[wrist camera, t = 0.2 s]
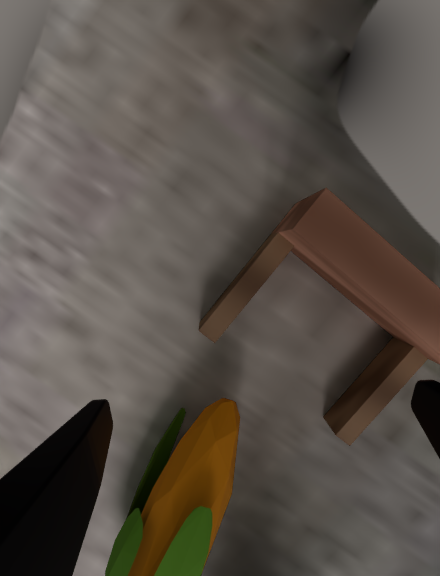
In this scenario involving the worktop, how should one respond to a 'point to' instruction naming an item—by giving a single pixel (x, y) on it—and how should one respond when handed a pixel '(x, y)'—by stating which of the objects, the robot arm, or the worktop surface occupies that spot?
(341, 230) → the guide bay
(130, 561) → the corn
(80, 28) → the worktop surface
